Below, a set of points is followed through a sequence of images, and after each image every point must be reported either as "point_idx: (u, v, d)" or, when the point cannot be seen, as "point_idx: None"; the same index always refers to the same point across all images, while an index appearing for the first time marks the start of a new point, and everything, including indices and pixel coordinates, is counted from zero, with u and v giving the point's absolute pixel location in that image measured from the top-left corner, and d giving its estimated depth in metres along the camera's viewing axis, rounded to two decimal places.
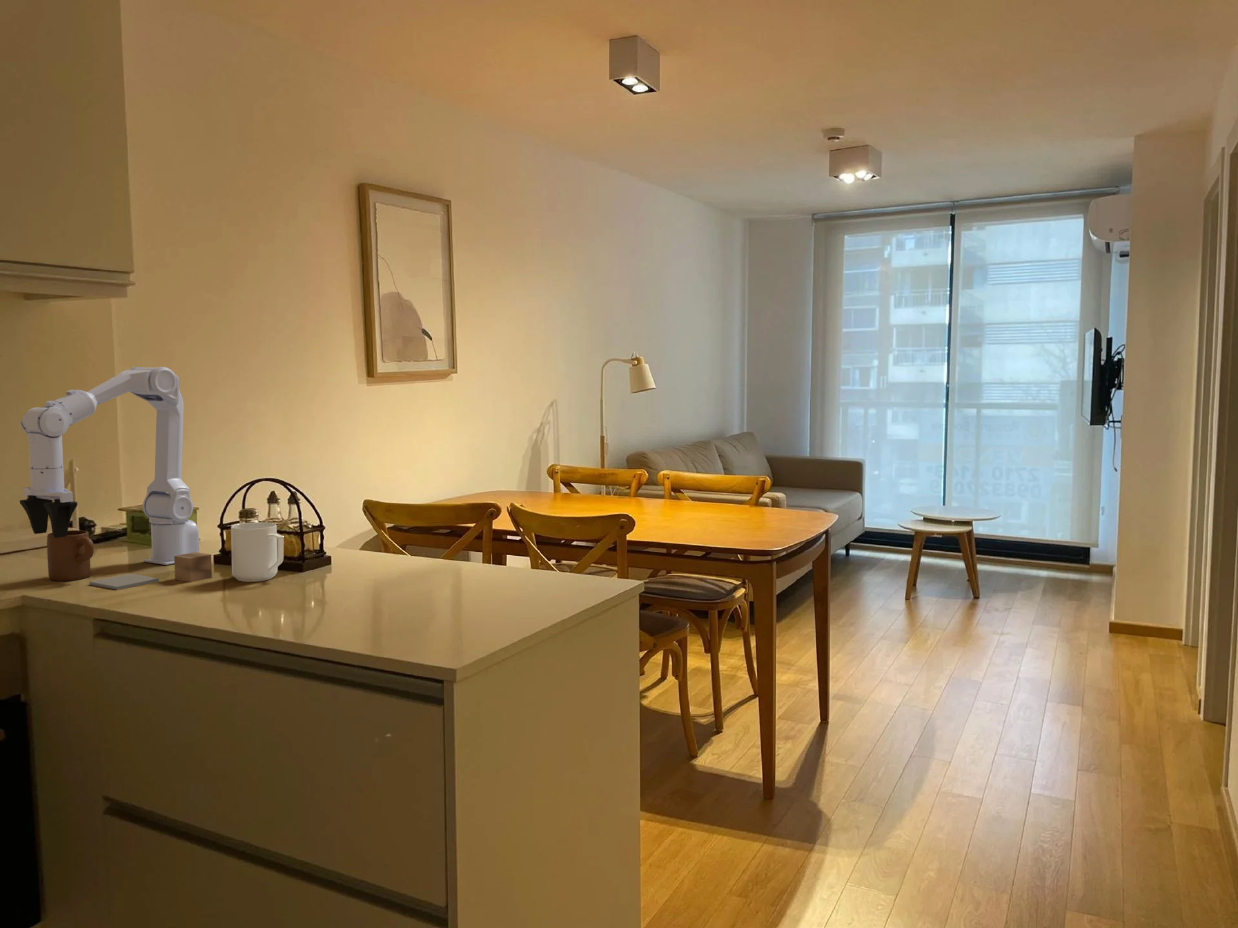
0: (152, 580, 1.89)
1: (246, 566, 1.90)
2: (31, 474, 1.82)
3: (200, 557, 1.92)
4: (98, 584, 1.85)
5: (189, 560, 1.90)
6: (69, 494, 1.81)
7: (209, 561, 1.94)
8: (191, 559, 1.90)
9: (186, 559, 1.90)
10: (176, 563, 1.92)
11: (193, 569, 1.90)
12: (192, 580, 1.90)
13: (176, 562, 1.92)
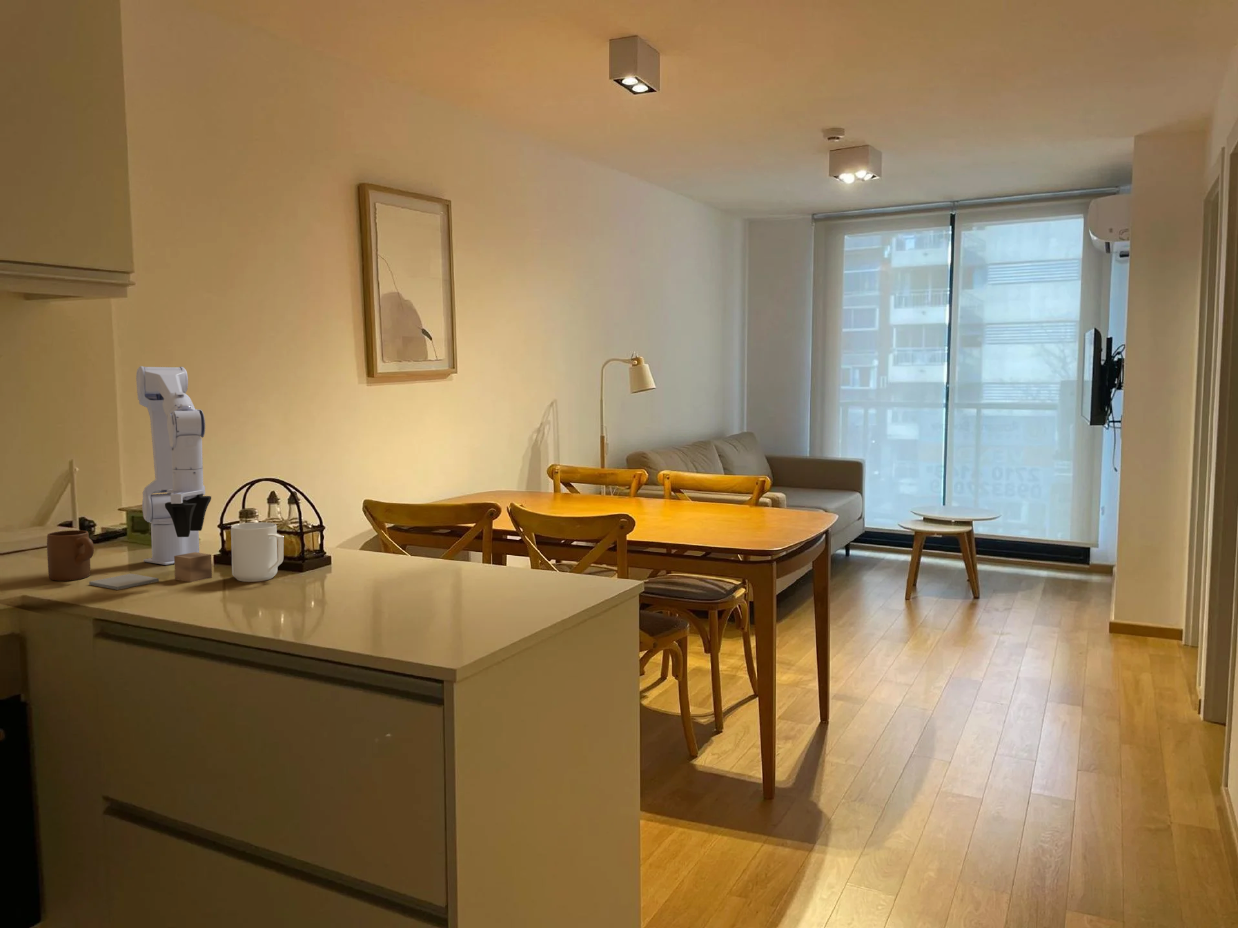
0: (152, 580, 1.89)
1: (246, 566, 1.90)
2: None
3: (200, 557, 1.92)
4: (98, 584, 1.85)
5: (189, 560, 1.90)
6: (177, 496, 1.84)
7: (209, 561, 1.94)
8: (191, 559, 1.90)
9: (186, 559, 1.90)
10: (176, 563, 1.92)
11: (193, 569, 1.90)
12: (192, 580, 1.90)
13: (176, 562, 1.92)
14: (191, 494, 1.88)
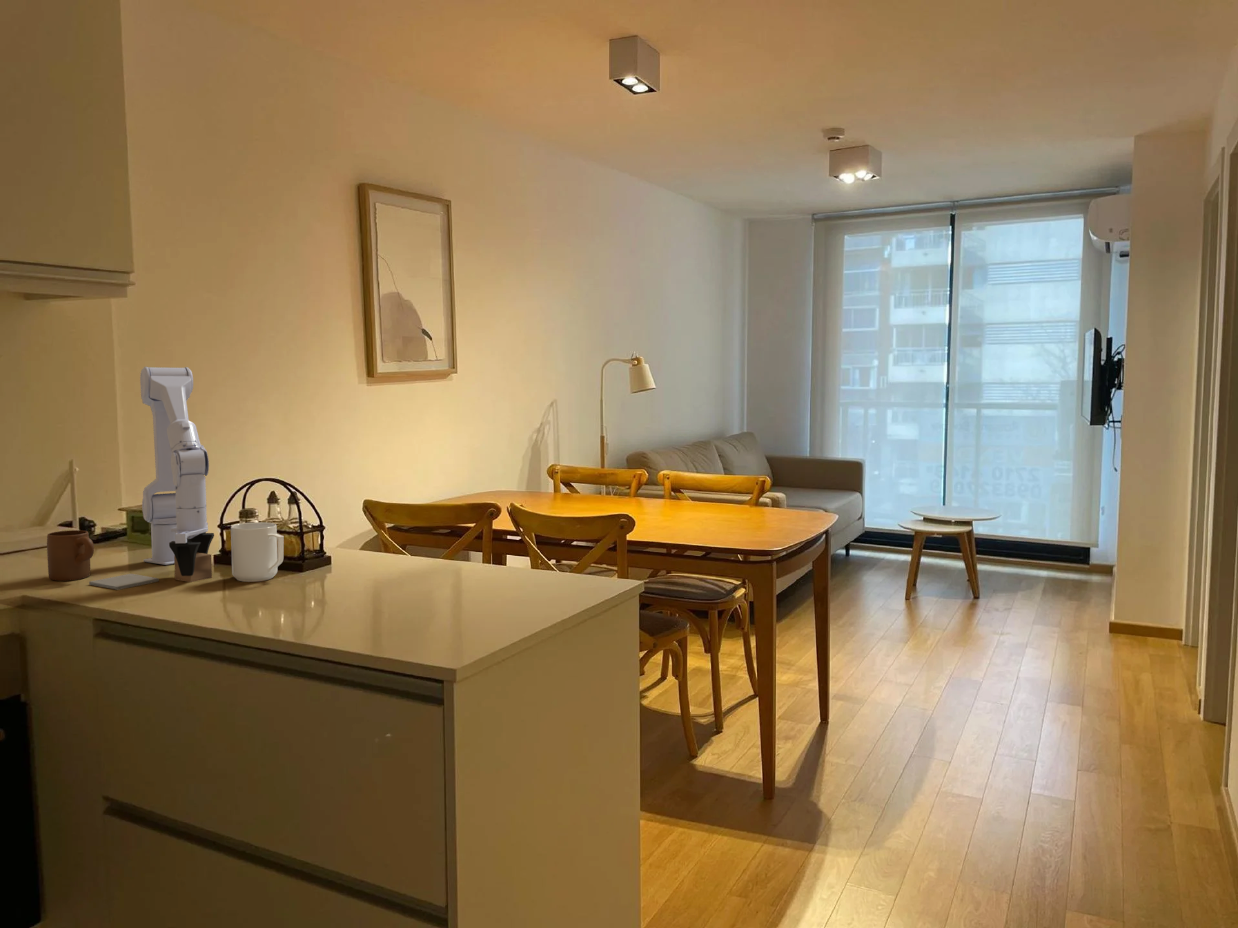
0: (152, 580, 1.89)
1: (246, 566, 1.90)
2: None
3: (200, 557, 1.92)
4: (98, 584, 1.85)
5: None
6: (182, 536, 1.85)
7: (209, 561, 1.94)
8: None
9: None
10: (176, 563, 1.92)
11: None
12: (192, 580, 1.90)
13: (176, 562, 1.92)
14: (195, 533, 1.89)
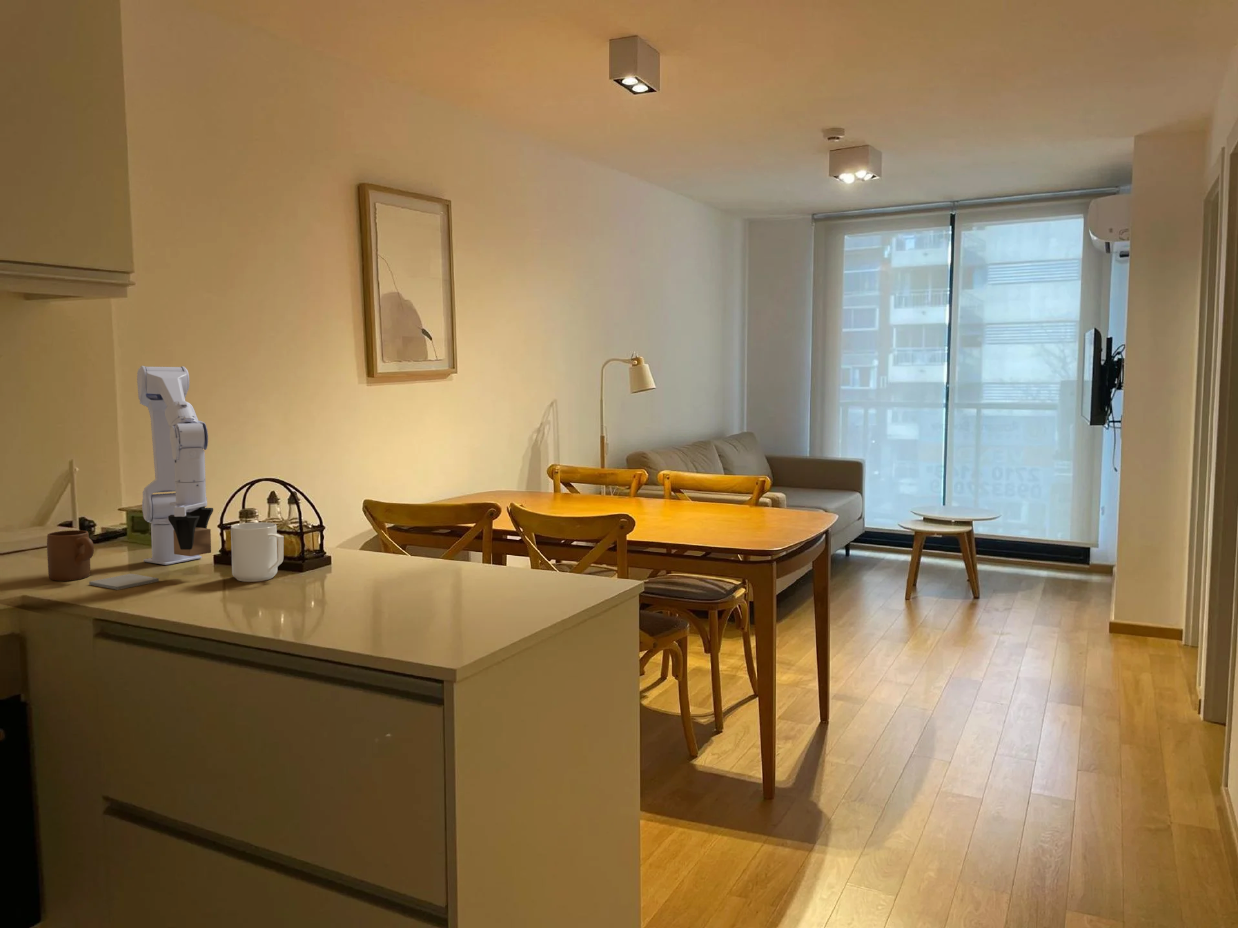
0: (152, 580, 1.89)
1: (246, 566, 1.90)
2: None
3: (199, 531, 1.91)
4: (98, 584, 1.85)
5: None
6: (181, 509, 1.85)
7: (208, 536, 1.93)
8: None
9: None
10: (175, 537, 1.91)
11: None
12: (191, 554, 1.90)
13: (175, 536, 1.91)
14: (194, 507, 1.88)
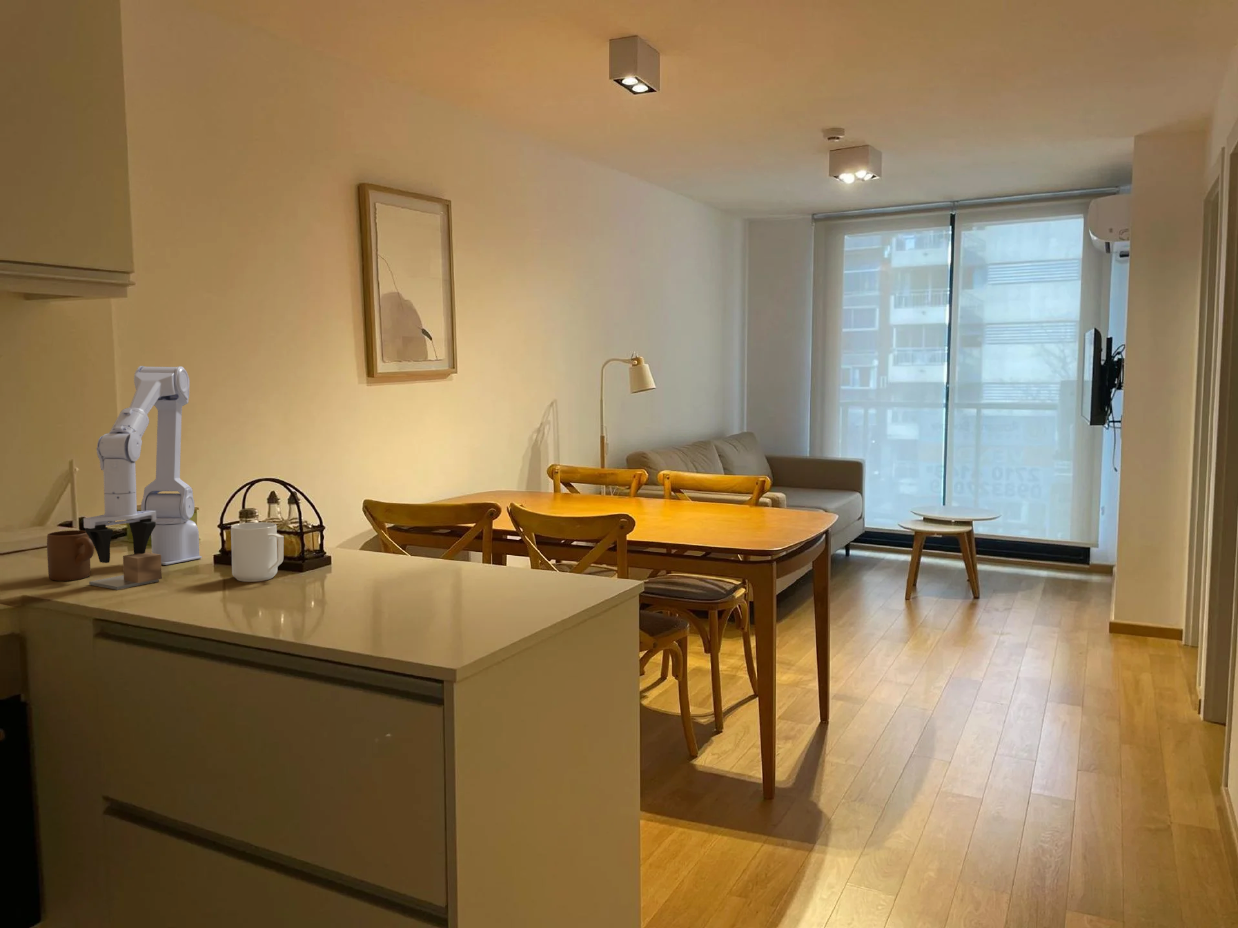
0: (152, 580, 1.89)
1: (246, 566, 1.90)
2: None
3: (148, 557, 1.87)
4: (98, 584, 1.85)
5: (136, 560, 1.85)
6: (88, 521, 1.80)
7: (158, 561, 1.89)
8: (138, 559, 1.85)
9: (134, 559, 1.86)
10: (125, 563, 1.88)
11: (141, 570, 1.86)
12: (139, 581, 1.86)
13: (125, 562, 1.88)
14: (109, 519, 1.83)
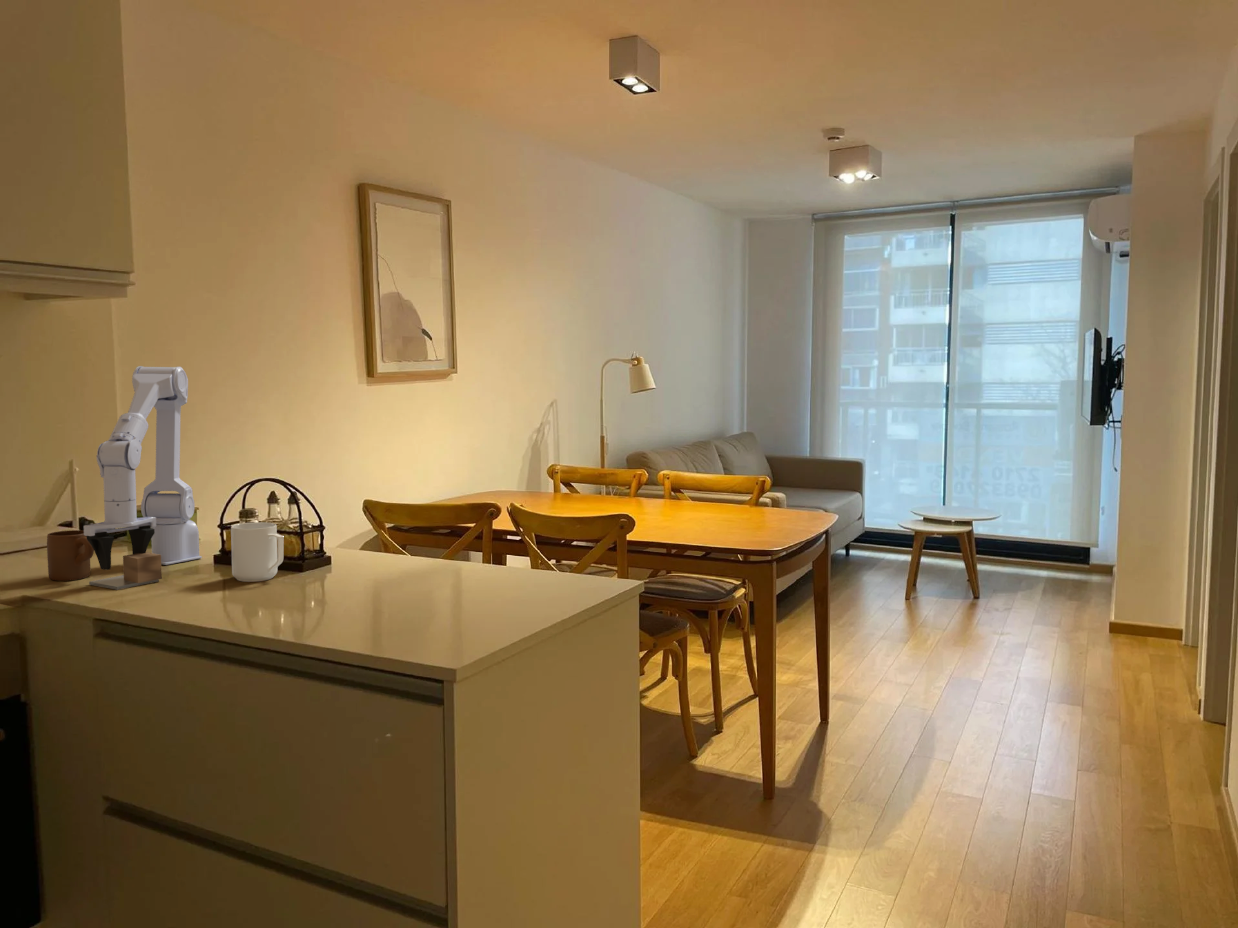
0: None
1: (246, 566, 1.90)
2: None
3: (148, 557, 1.87)
4: (98, 584, 1.85)
5: (136, 560, 1.85)
6: (88, 528, 1.81)
7: (158, 561, 1.89)
8: (138, 559, 1.85)
9: (134, 559, 1.86)
10: (125, 563, 1.88)
11: (141, 570, 1.86)
12: (139, 581, 1.86)
13: (125, 562, 1.88)
14: (109, 527, 1.83)
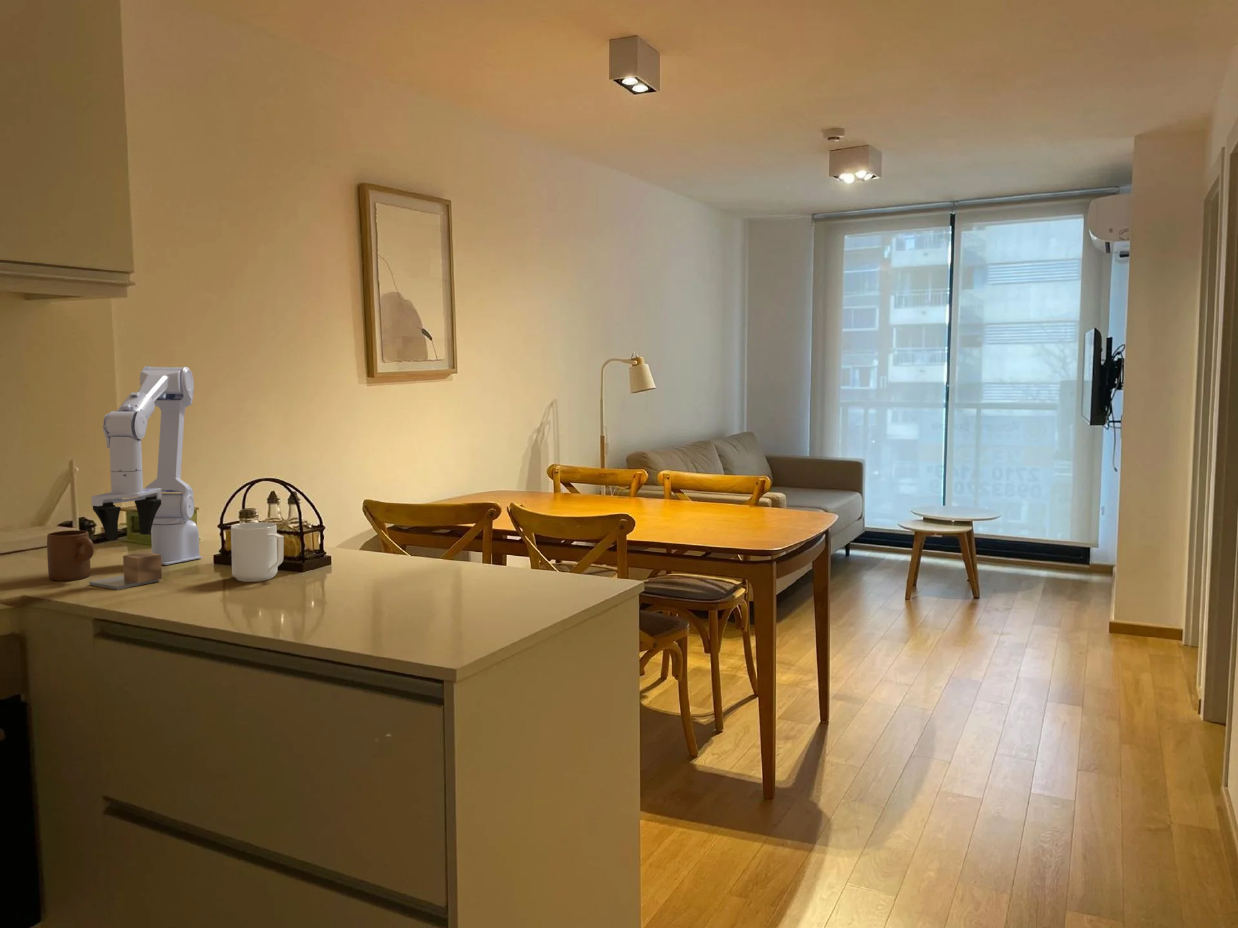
0: (152, 580, 1.89)
1: (246, 566, 1.90)
2: None
3: (148, 557, 1.87)
4: (98, 584, 1.85)
5: (136, 560, 1.85)
6: (95, 498, 1.81)
7: (159, 561, 1.89)
8: (138, 559, 1.85)
9: (134, 559, 1.86)
10: (125, 563, 1.88)
11: (141, 569, 1.86)
12: (139, 581, 1.86)
13: (125, 562, 1.88)
14: (117, 497, 1.83)
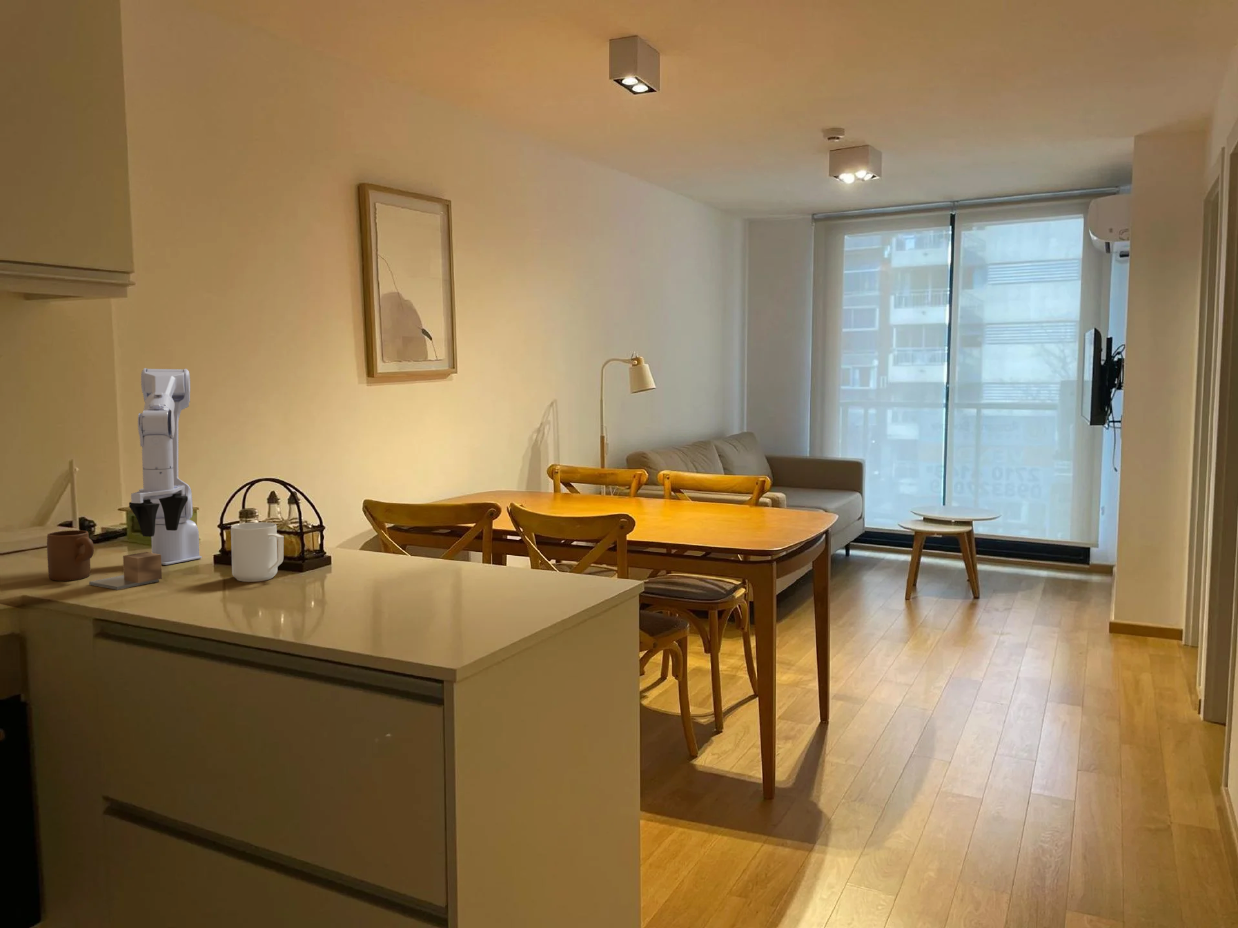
0: (152, 580, 1.89)
1: (246, 566, 1.90)
2: None
3: (148, 557, 1.87)
4: (98, 584, 1.85)
5: (136, 560, 1.85)
6: (137, 495, 1.85)
7: (159, 561, 1.89)
8: (138, 559, 1.85)
9: (134, 559, 1.86)
10: (125, 563, 1.88)
11: (141, 569, 1.86)
12: (139, 581, 1.86)
13: (125, 562, 1.88)
14: (155, 494, 1.88)
